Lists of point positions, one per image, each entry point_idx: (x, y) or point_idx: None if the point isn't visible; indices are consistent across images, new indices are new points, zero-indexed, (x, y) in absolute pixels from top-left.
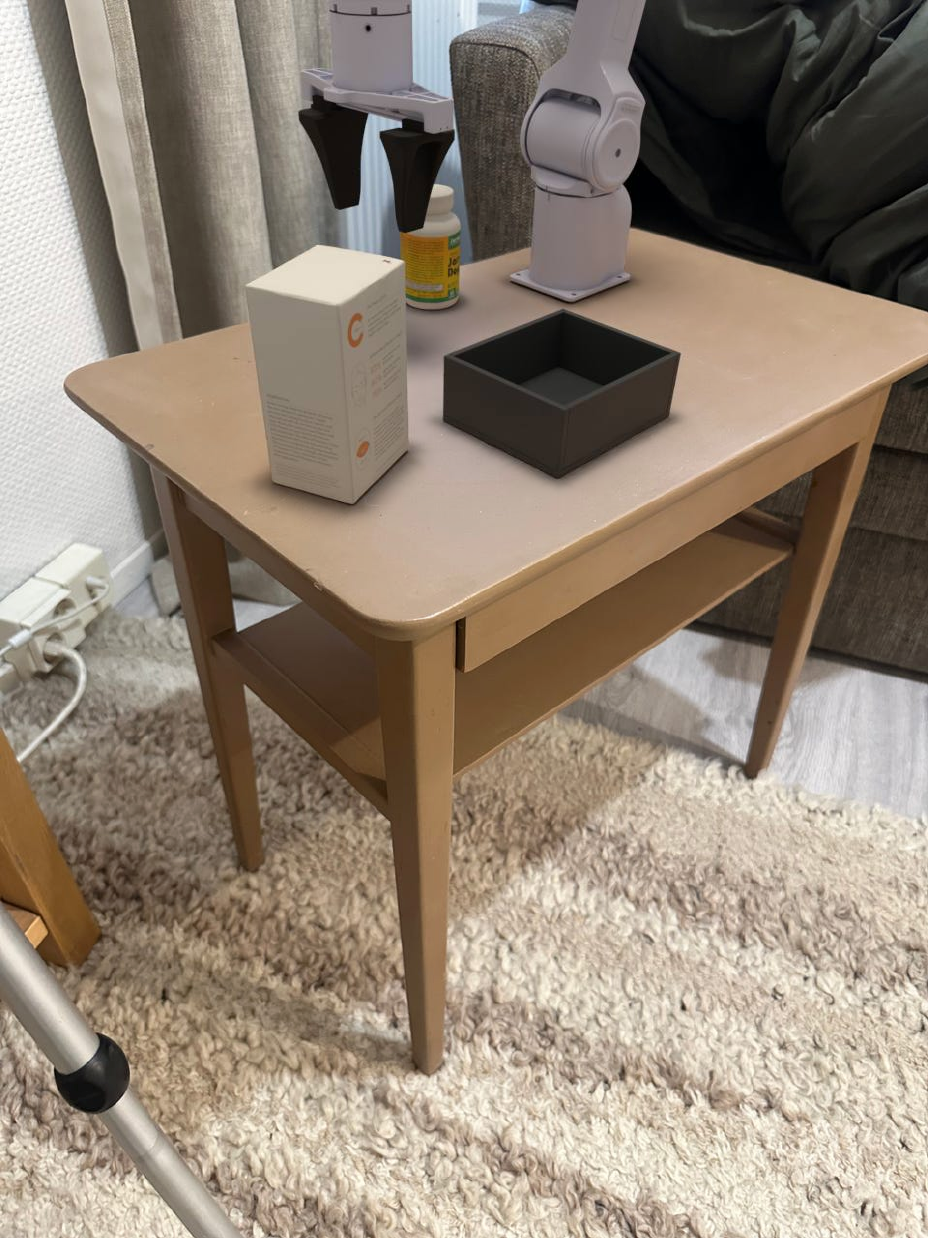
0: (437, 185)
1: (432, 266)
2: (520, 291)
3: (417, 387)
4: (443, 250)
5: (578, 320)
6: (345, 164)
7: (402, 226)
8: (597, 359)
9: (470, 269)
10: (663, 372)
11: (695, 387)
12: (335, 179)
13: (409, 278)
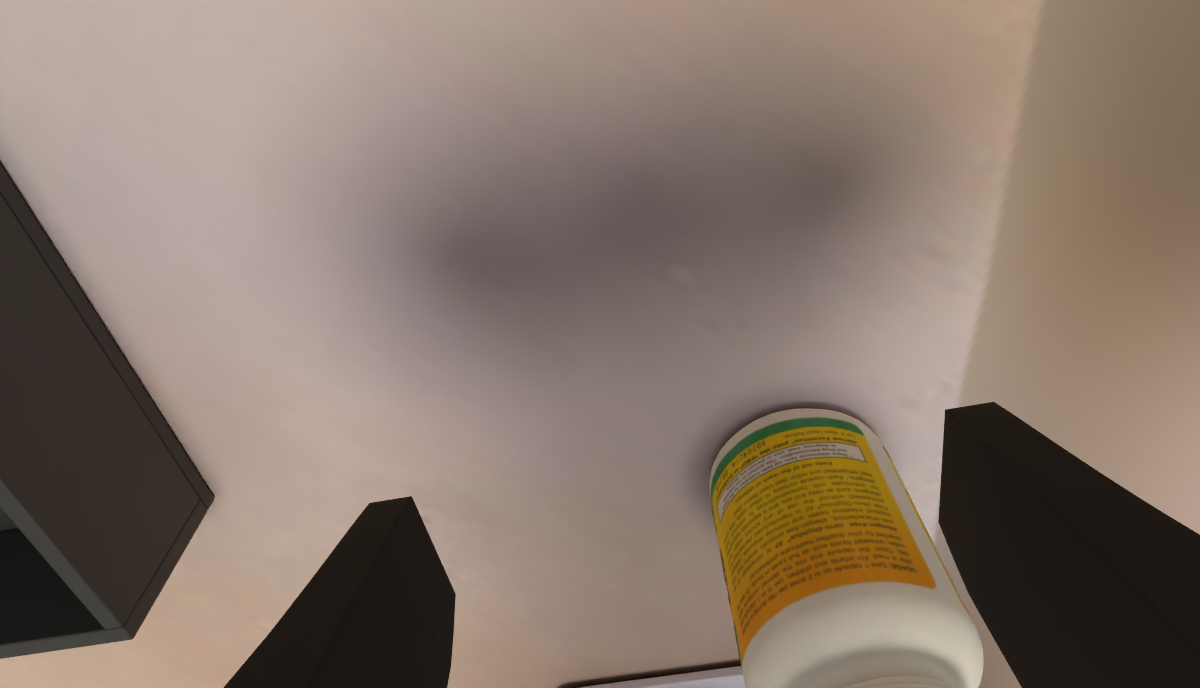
0: None
1: (743, 540)
2: (693, 649)
3: (215, 124)
4: (736, 608)
5: (53, 630)
6: (1087, 682)
7: (357, 522)
8: (32, 568)
9: None
10: None
11: None
12: (1045, 533)
13: (810, 463)
